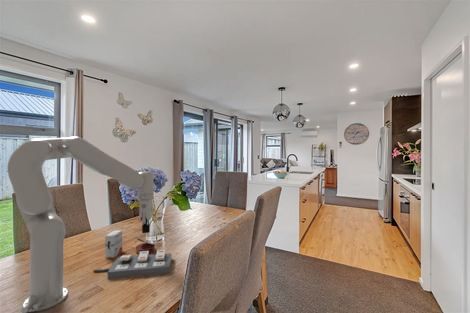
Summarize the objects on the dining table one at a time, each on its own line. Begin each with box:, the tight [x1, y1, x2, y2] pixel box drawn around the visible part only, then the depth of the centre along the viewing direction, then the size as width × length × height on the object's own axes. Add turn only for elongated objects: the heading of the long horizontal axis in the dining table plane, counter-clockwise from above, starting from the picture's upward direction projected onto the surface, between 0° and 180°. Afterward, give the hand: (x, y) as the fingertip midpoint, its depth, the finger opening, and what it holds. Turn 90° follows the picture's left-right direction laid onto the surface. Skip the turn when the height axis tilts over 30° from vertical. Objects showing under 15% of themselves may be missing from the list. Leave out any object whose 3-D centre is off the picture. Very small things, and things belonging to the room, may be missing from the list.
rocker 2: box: [138, 251, 150, 262], centre depth 106 cm, size 6×4×1 cm, turn 12°
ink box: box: [104, 229, 123, 259], centre depth 118 cm, size 8×5×12 cm, turn 0°
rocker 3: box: [155, 249, 166, 260], centre depth 108 cm, size 6×4×1 cm, turn 12°
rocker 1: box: [119, 254, 133, 261], centre depth 105 cm, size 6×4×1 cm, turn 13°
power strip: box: [93, 252, 172, 280], centre depth 104 cm, size 14×34×3 cm, turn 102°
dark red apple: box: [135, 237, 156, 256], centre depth 123 cm, size 11×10×10 cm
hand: (145, 232), depth 109 cm, fingers closed
